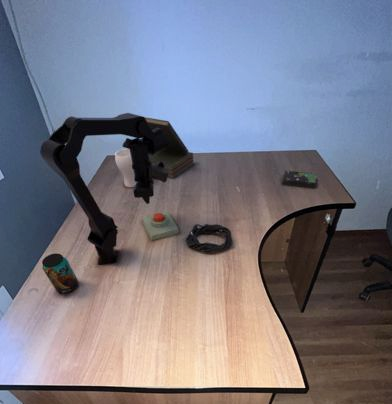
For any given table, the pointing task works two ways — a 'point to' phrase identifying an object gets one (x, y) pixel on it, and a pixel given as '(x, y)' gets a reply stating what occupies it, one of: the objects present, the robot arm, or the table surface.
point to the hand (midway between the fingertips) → (147, 203)
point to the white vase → (125, 166)
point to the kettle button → (158, 217)
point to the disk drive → (299, 179)
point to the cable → (209, 230)
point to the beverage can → (60, 273)
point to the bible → (171, 149)
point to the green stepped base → (160, 226)
